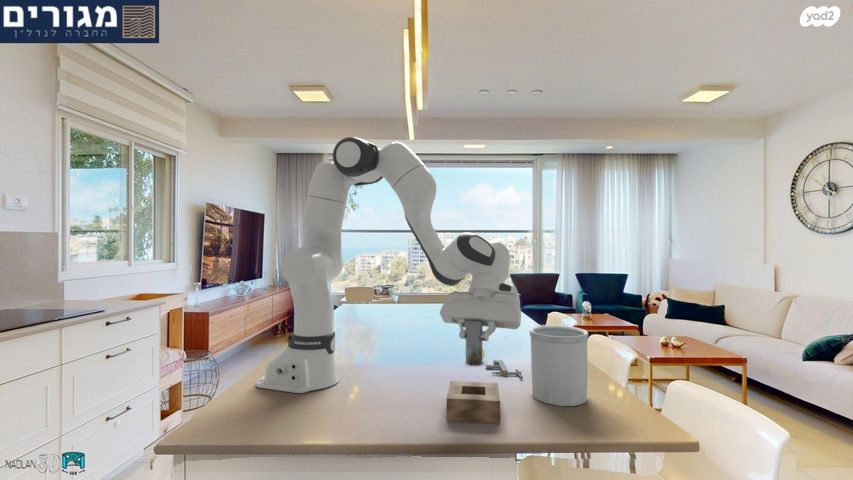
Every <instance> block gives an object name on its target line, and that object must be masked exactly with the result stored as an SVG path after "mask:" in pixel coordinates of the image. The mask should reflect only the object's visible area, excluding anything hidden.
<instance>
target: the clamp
mask: <svg viewBox="0 0 853 480" xmlns="http://www.w3.org/2000/svg"><path fill="white" fill-rule="evenodd" d="M485 369H486V370H493V369H499V371H492V372H491V374H492V375H498V376H499V375H502V377H507V376H515V377H519V379H520V380H523V379H524V376H523V375H522V372H521V371H519V369H515V371H508V369H507V365H506V364H505V363H504V361H503V360H498V359H494V360H493V363H492V364H485Z"/></svg>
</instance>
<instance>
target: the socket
mask: <svg viewBox="0 0 853 480" xmlns="http://www.w3.org/2000/svg"><path fill="white" fill-rule="evenodd" d="M499 389H500V388H499V383H497V382H496V383H495V382H480V381H459V380H450V381H449V385H448V389H447V394H446V415H445V418H446V421H449V422H452V421H453V422H463V423H464V422H465V423H466V422H468V423H479V424H480V423H484V424H498V425H499V424H501V397H500V390H499Z"/></svg>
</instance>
